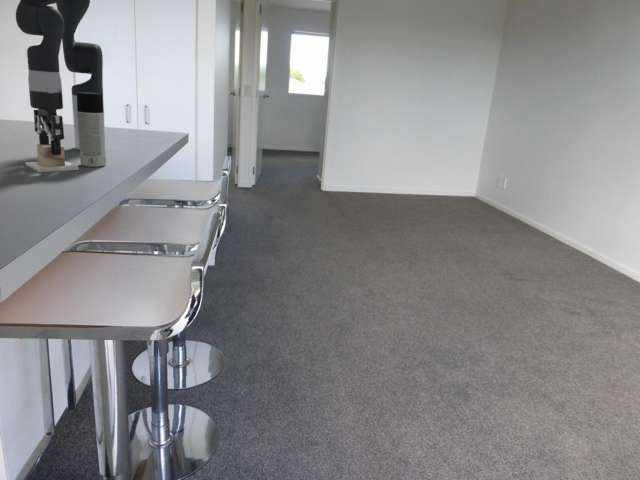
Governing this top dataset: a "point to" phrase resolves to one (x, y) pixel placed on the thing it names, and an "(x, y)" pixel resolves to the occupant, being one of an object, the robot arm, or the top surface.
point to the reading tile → (51, 167)
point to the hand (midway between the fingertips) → (50, 152)
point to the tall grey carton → (91, 129)
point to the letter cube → (49, 156)
